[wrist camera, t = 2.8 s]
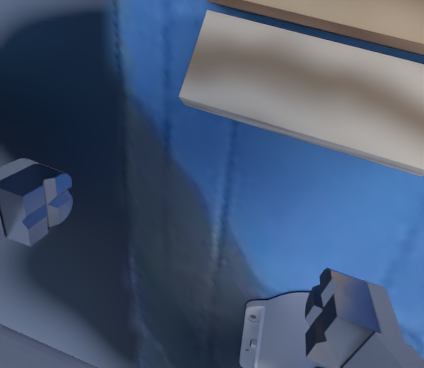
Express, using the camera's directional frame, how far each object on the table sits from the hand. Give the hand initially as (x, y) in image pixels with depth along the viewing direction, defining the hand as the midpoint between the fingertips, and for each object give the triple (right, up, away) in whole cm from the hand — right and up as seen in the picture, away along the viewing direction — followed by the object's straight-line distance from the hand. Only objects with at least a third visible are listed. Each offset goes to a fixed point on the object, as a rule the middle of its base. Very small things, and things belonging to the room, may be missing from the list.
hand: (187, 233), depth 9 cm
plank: (+9, +9, +15) cm, 19 cm away
